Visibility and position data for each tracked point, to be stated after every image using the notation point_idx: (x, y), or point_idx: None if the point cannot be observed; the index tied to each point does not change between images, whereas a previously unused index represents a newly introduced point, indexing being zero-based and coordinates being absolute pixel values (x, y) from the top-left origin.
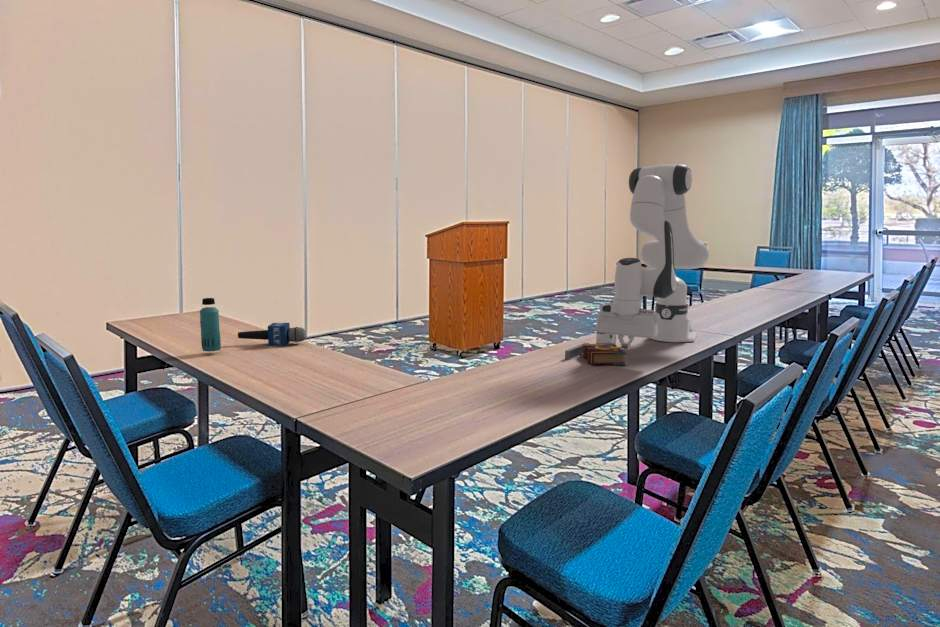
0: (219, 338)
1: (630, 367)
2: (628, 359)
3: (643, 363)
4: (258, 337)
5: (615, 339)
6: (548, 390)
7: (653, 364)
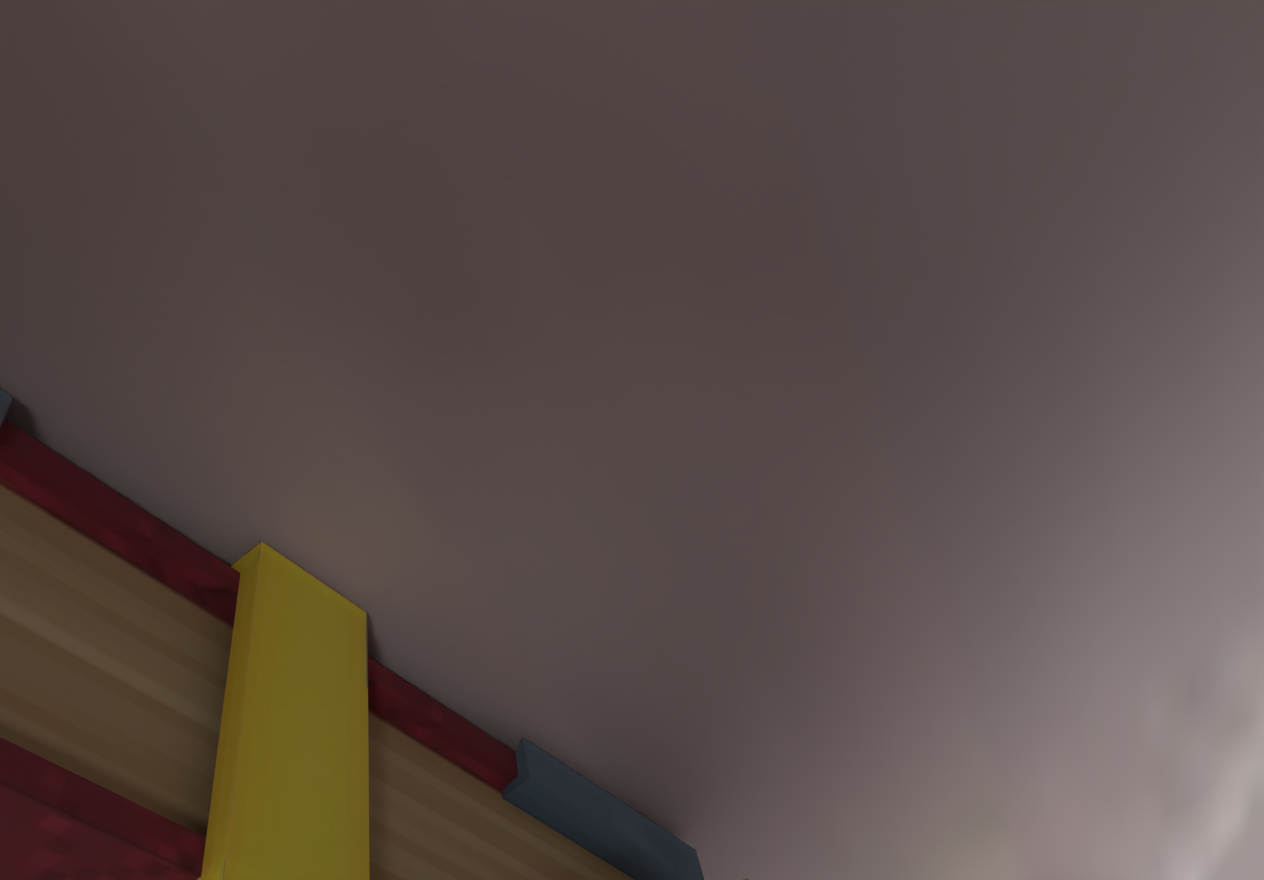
0: None
1: (826, 861)
2: (464, 310)
3: (994, 449)
4: None
5: None
6: None
7: (1242, 382)
